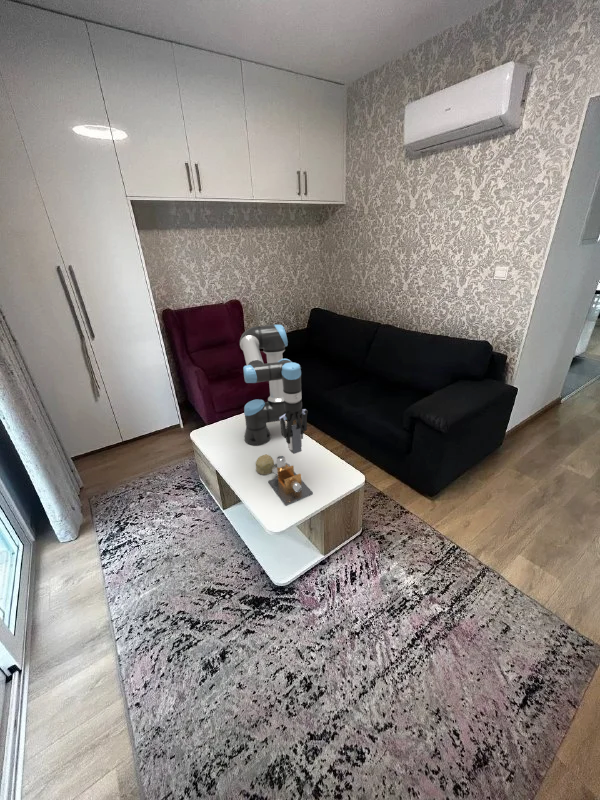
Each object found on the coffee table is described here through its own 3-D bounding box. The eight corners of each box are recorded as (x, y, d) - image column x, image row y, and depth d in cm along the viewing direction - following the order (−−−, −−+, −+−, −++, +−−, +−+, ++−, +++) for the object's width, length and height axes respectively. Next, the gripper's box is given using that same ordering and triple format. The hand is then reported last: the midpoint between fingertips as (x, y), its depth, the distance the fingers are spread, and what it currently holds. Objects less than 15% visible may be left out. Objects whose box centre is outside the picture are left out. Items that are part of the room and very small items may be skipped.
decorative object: (262, 482, 164) (271, 471, 158) (248, 467, 165) (256, 456, 160) (272, 472, 171) (281, 461, 166) (259, 459, 173) (267, 448, 167)
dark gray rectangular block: (289, 449, 149) (287, 426, 143) (296, 447, 150) (295, 424, 145) (293, 454, 145) (292, 430, 140) (301, 451, 147) (300, 428, 142)
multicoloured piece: (265, 478, 160) (263, 458, 155) (290, 469, 166) (289, 449, 161) (285, 505, 143) (283, 484, 138) (312, 494, 149) (312, 473, 144)
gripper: (278, 408, 130) (282, 457, 140) (314, 397, 138) (315, 444, 148) (270, 401, 136) (274, 449, 146) (305, 391, 144) (306, 437, 154)
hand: (295, 446), depth 147 cm, fingers closed on dark gray rectangular block, 4 cm apart
